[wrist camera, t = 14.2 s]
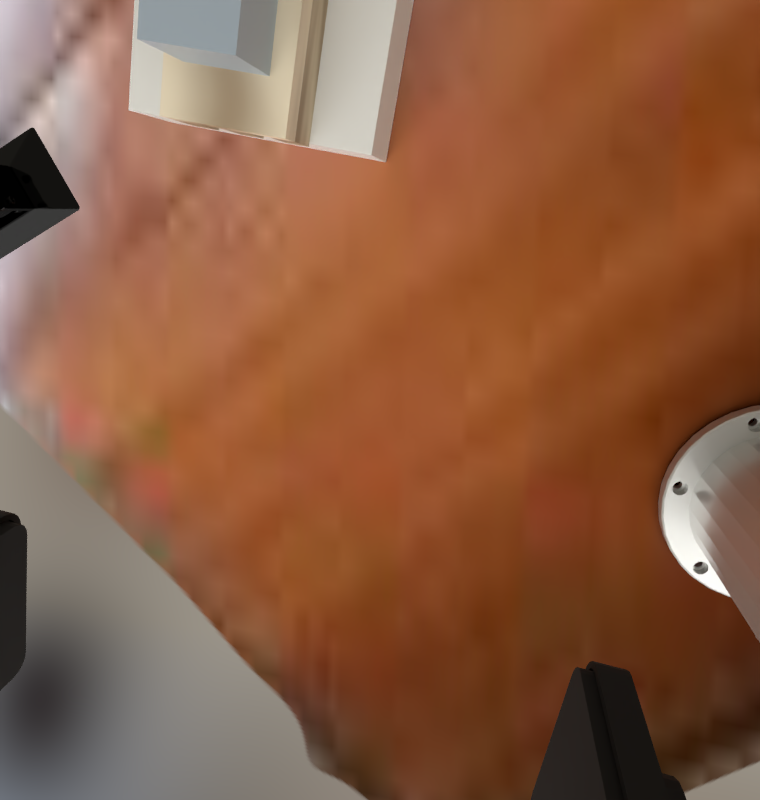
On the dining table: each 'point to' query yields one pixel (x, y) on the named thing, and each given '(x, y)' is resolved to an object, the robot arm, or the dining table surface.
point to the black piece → (30, 192)
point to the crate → (212, 31)
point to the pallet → (255, 83)
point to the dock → (324, 77)
